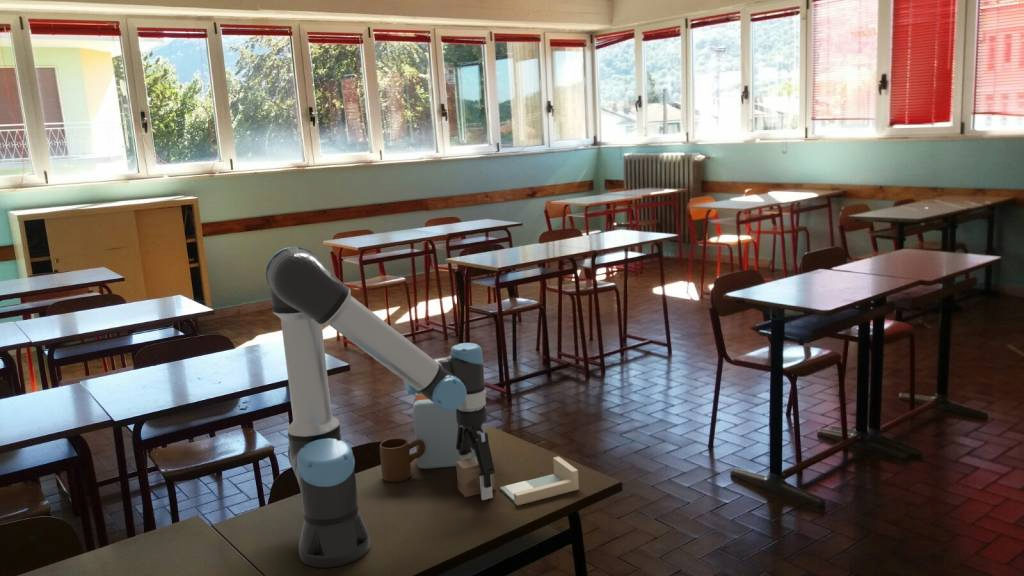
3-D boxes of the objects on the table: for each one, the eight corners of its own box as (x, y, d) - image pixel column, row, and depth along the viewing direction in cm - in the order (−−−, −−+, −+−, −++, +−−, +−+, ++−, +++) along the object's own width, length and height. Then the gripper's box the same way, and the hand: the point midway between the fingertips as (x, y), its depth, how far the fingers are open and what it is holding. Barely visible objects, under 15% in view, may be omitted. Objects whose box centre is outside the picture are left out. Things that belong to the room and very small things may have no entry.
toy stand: (517, 505, 192) (516, 485, 191) (500, 489, 201) (499, 470, 200) (578, 489, 199) (577, 470, 198) (559, 474, 208) (558, 456, 207)
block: (465, 497, 198) (463, 468, 197) (458, 489, 203) (456, 461, 202) (495, 489, 202) (493, 461, 200) (487, 482, 206) (485, 454, 205)
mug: (423, 465, 219) (420, 432, 217) (431, 476, 212) (428, 441, 210) (379, 474, 215) (376, 441, 213) (386, 485, 208) (382, 450, 206)
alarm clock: (486, 452, 225) (481, 381, 222) (487, 464, 217) (482, 391, 213) (419, 457, 225) (413, 386, 221) (417, 470, 216) (411, 396, 212)
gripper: (505, 418, 189) (510, 503, 193) (466, 390, 211) (472, 467, 215) (475, 424, 186) (481, 511, 190) (439, 395, 208) (446, 474, 212)
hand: (477, 488), depth 202 cm, fingers open, 12 cm apart
